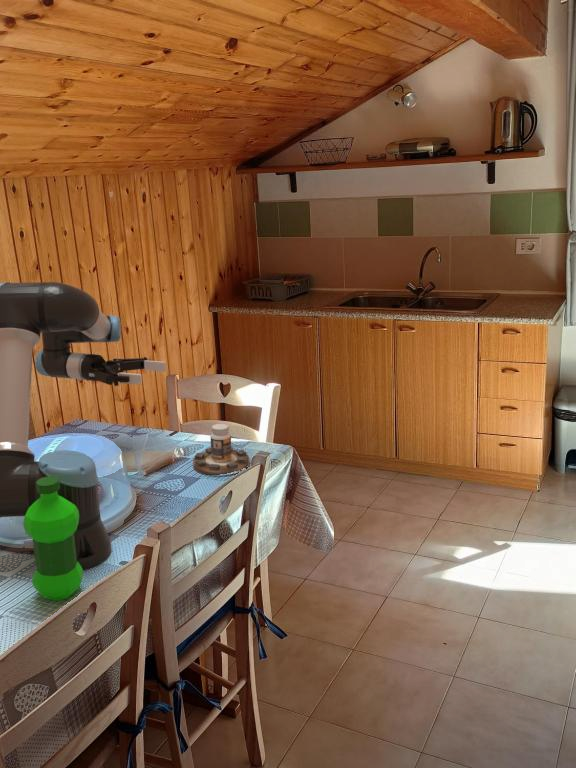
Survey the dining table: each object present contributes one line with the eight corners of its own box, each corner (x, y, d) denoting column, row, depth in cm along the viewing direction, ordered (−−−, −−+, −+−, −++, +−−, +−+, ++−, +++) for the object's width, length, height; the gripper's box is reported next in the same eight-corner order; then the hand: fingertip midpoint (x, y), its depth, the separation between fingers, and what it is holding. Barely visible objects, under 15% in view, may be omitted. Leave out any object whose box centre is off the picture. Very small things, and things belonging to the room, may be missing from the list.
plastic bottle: (48, 577, 159) (35, 468, 152) (94, 582, 157) (84, 472, 150) (23, 604, 150) (8, 489, 142) (72, 610, 148) (60, 494, 141)
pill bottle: (228, 463, 212) (227, 430, 209) (208, 462, 213) (207, 429, 210) (233, 455, 217) (232, 423, 214) (214, 454, 218) (213, 422, 215)
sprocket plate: (240, 478, 206) (240, 470, 205) (185, 473, 210) (184, 465, 209) (255, 456, 221) (255, 448, 220) (203, 451, 224) (203, 444, 224)
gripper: (111, 368, 227) (175, 374, 220) (62, 391, 204) (131, 399, 197) (109, 344, 225) (173, 349, 218) (59, 365, 202) (129, 371, 195)
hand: (153, 373), depth 208 cm, fingers open, 13 cm apart
